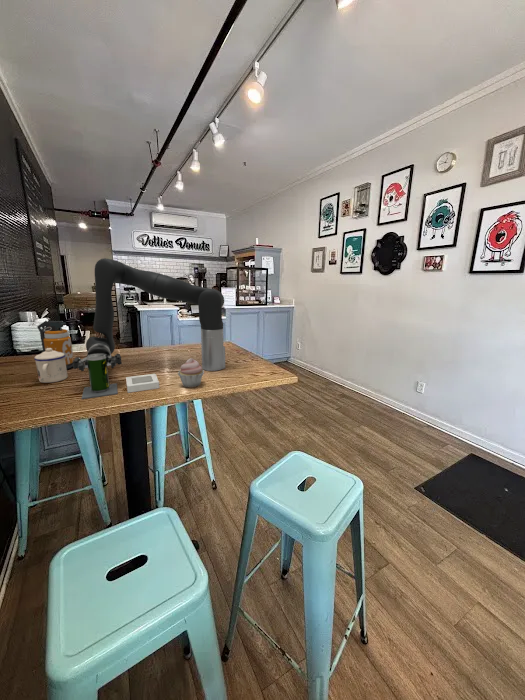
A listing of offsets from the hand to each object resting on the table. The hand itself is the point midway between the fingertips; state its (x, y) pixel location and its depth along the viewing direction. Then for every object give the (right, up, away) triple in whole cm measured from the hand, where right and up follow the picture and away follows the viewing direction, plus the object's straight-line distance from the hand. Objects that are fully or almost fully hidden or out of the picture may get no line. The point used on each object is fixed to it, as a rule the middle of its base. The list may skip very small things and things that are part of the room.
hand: (97, 366), depth 92 cm
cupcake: (+28, -7, +11) cm, 31 cm away
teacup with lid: (-23, -6, +12) cm, 27 cm away
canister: (-31, -2, +26) cm, 40 cm away
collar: (+11, -7, +9) cm, 16 cm away
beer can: (-1, -8, +3) cm, 9 cm away
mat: (-1, -8, +3) cm, 9 cm away
